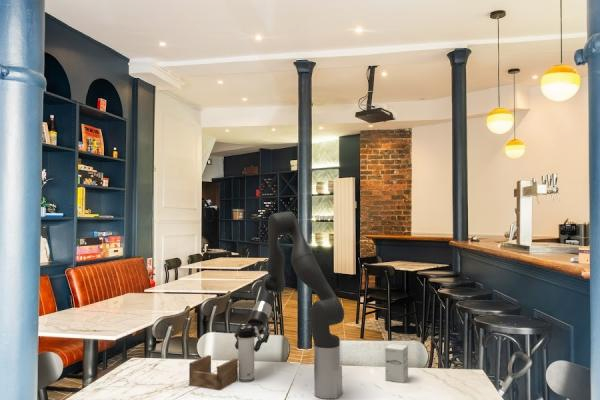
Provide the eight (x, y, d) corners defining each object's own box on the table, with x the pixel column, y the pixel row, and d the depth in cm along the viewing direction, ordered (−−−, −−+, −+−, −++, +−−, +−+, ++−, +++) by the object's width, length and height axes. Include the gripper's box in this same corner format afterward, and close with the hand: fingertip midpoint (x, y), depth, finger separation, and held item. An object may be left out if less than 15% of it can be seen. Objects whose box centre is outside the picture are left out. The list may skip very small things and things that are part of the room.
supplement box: (384, 380, 177) (384, 347, 178) (390, 375, 184) (389, 343, 185) (403, 383, 174) (403, 349, 175) (408, 377, 181) (408, 345, 181)
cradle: (237, 380, 180) (237, 358, 180) (220, 390, 169) (220, 367, 169) (208, 375, 186) (208, 355, 186) (189, 385, 175) (189, 363, 175)
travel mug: (252, 382, 177) (252, 329, 178) (236, 381, 178) (236, 329, 179) (257, 377, 183) (257, 326, 184) (241, 376, 184) (241, 326, 185)
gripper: (242, 308, 192) (227, 342, 181) (272, 310, 186) (258, 346, 175) (248, 319, 197) (234, 352, 186) (278, 321, 191) (265, 356, 180)
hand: (246, 349), depth 181 cm, fingers open, 8 cm apart
